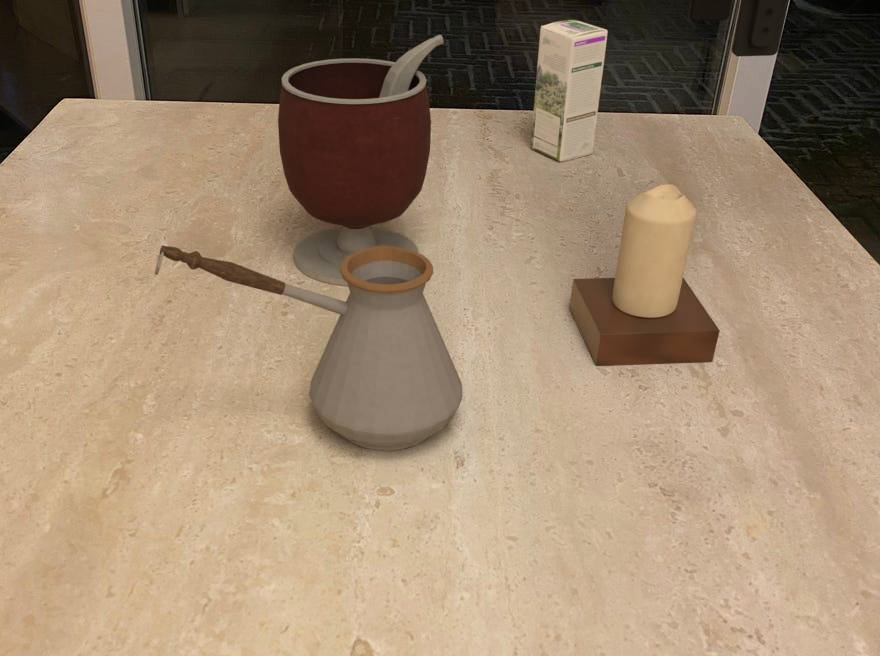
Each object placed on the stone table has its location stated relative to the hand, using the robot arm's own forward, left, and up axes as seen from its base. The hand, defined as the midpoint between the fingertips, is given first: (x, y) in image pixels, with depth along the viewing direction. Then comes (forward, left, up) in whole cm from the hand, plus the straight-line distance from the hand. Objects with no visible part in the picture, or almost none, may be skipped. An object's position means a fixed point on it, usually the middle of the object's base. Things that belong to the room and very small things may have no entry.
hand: (729, 36), depth 75 cm
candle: (+4, +2, -21) cm, 22 cm away
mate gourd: (+27, -15, -24) cm, 39 cm away
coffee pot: (+32, +14, -24) cm, 42 cm away
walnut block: (+4, +2, -24) cm, 24 cm away
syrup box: (+1, -43, -24) cm, 49 cm away
